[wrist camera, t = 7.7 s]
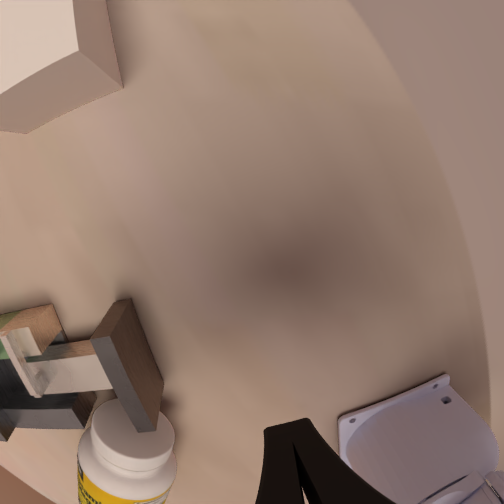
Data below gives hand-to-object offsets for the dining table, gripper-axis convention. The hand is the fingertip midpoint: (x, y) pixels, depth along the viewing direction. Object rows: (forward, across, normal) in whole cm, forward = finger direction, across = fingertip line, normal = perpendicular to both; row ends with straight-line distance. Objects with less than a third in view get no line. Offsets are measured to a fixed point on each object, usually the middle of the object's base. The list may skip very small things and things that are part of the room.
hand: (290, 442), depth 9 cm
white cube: (+9, +7, -16) cm, 20 cm away
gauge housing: (+9, +14, 0) cm, 17 cm away
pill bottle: (+6, +14, +13) cm, 20 cm away
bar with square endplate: (+9, +10, 0) cm, 13 cm away
